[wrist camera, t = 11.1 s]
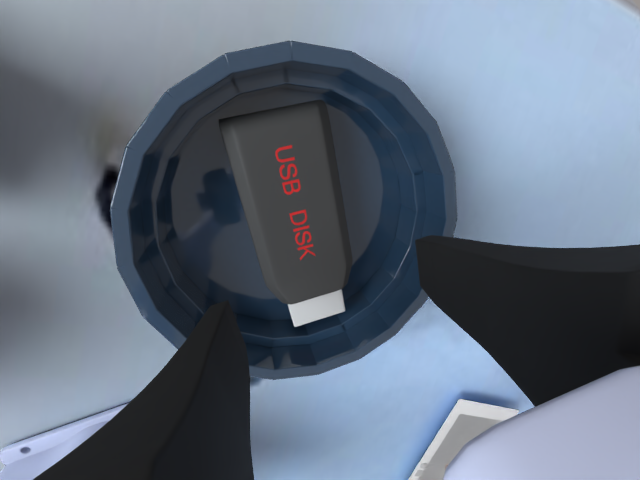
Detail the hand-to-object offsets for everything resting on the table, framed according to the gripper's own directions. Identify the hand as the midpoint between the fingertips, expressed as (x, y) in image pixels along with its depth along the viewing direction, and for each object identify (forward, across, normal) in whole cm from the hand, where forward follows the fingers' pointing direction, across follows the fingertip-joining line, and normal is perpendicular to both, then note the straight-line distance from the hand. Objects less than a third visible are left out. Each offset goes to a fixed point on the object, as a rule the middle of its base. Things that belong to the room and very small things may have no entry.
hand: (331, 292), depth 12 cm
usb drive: (+8, 0, -1) cm, 8 cm away
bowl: (+9, 0, -1) cm, 9 cm away
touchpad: (+9, -9, +27) cm, 30 cm away
